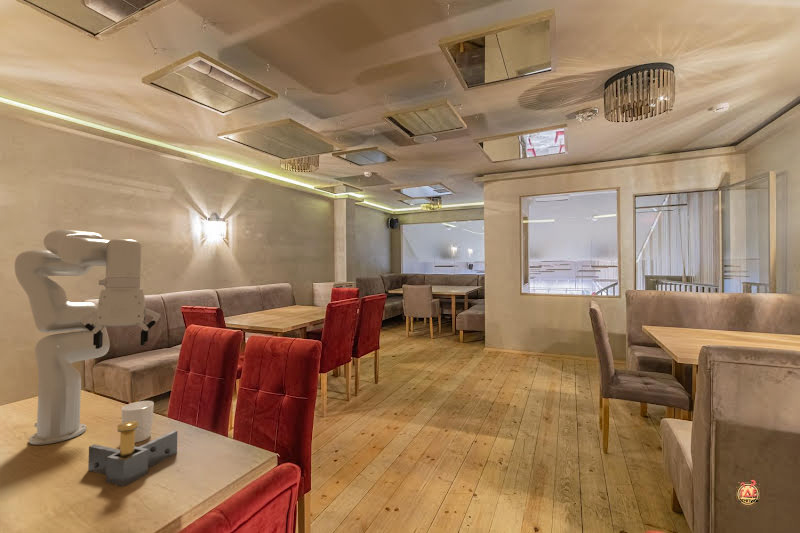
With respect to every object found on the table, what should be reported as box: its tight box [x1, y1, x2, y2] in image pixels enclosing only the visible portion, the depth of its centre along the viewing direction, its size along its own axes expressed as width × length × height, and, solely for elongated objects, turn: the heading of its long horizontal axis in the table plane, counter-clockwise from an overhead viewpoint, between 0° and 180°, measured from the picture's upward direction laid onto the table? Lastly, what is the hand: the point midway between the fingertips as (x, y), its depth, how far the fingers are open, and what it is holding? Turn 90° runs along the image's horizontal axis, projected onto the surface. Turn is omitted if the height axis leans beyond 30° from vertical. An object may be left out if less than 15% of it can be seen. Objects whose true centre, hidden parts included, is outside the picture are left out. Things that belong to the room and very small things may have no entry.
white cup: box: [121, 400, 155, 443], centre depth 106 cm, size 8×8×10 cm
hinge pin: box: [116, 421, 138, 458], centre depth 85 cm, size 4×4×13 cm
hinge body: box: [87, 430, 178, 487], centre depth 91 cm, size 16×16×6 cm
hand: (121, 346), depth 95 cm, fingers open, 9 cm apart
